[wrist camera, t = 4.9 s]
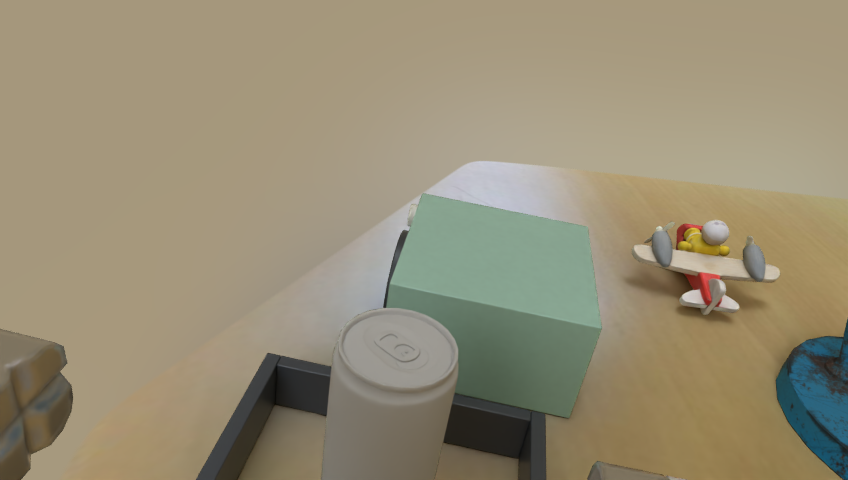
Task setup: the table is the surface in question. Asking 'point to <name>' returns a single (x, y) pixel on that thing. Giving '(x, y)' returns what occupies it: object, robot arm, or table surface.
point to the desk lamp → (819, 397)
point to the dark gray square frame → (310, 392)
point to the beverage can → (389, 397)
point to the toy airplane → (705, 263)
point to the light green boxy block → (502, 298)
